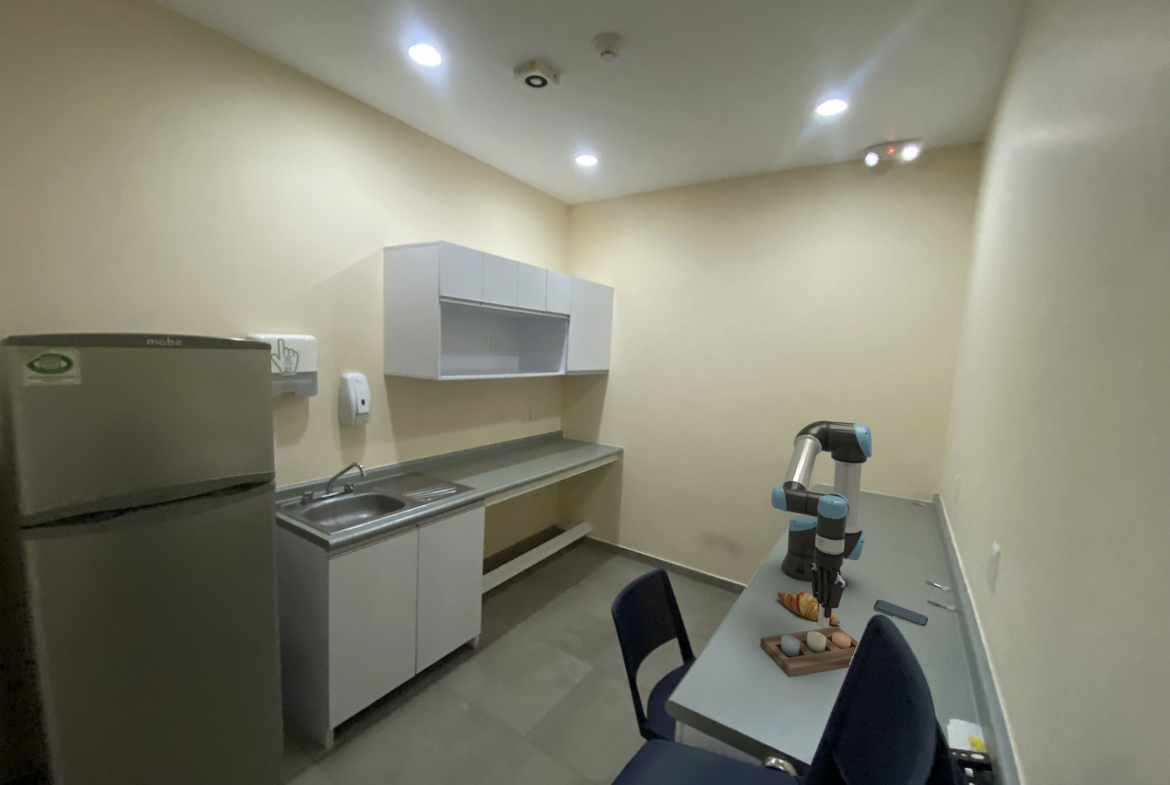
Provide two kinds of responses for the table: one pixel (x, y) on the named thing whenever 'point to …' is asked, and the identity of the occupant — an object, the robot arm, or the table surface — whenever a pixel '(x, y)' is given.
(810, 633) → the cream button
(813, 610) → the croissant
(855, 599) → the table surface
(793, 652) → the slate button
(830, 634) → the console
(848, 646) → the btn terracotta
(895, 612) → the smartphone
